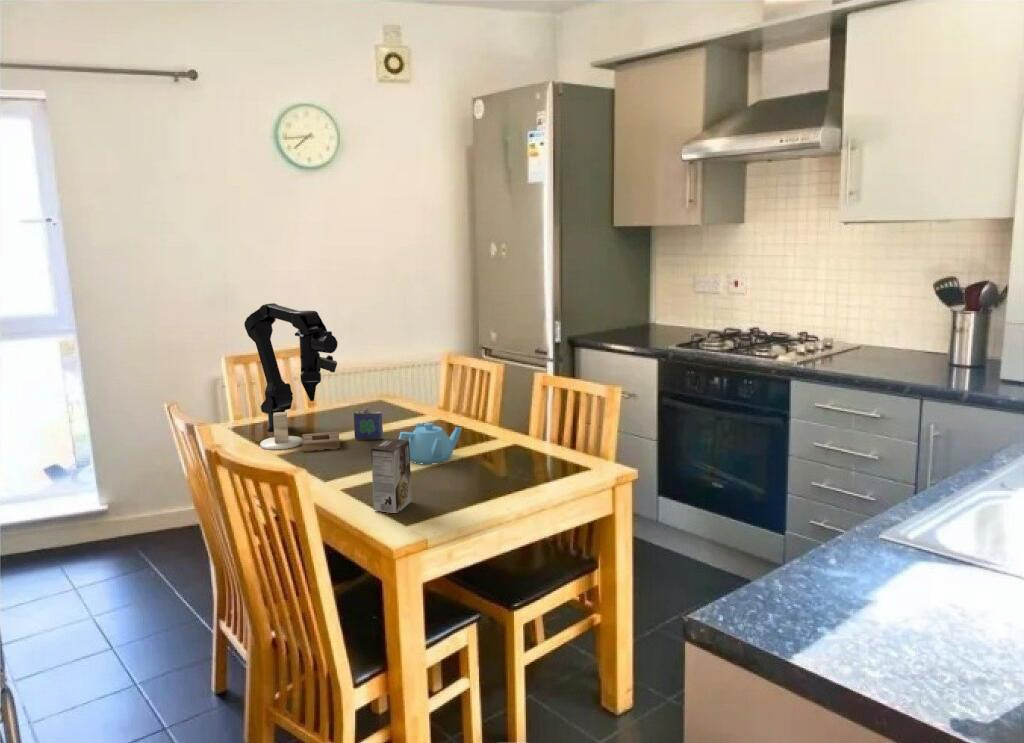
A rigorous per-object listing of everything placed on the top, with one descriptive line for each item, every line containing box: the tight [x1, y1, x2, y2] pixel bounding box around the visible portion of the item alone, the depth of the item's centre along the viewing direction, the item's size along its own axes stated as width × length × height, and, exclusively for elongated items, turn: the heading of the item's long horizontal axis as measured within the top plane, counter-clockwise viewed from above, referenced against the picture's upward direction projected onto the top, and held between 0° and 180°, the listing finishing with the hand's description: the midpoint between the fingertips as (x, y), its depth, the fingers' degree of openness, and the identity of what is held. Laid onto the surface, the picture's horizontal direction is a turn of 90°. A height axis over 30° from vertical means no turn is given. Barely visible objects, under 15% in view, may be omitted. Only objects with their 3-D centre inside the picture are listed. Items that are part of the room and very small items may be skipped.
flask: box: [353, 406, 384, 441], centre depth 248 cm, size 9×3×11 cm, turn 87°
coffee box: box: [370, 437, 413, 513], centre depth 188 cm, size 9×6×16 cm
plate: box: [259, 435, 302, 451], centre depth 244 cm, size 13×13×1 cm
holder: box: [301, 431, 341, 452], centre depth 242 cm, size 11×11×2 cm
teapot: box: [398, 422, 463, 465], centre depth 227 cm, size 15×15×11 cm
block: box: [273, 411, 289, 444], centre depth 243 cm, size 4×4×9 cm
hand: (312, 397), depth 250 cm, fingers open, 9 cm apart
